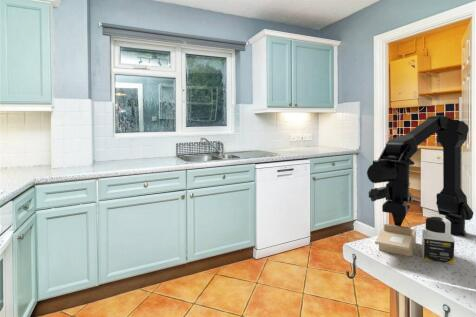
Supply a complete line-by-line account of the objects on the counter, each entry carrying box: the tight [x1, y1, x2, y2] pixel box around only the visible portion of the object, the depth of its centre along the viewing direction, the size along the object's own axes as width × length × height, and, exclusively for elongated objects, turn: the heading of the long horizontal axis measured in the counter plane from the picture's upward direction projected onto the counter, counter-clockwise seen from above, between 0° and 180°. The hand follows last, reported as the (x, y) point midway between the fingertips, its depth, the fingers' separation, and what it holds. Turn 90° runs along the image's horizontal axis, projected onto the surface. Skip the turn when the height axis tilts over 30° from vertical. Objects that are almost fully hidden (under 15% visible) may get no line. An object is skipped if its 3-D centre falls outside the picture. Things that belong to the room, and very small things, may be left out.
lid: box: [374, 223, 413, 250], centre depth 88 cm, size 12×9×3 cm
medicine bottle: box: [421, 216, 456, 265], centre depth 86 cm, size 7×7×12 cm
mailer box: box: [378, 228, 417, 257], centre depth 94 cm, size 12×9×5 cm
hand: (397, 228), depth 94 cm, fingers closed
